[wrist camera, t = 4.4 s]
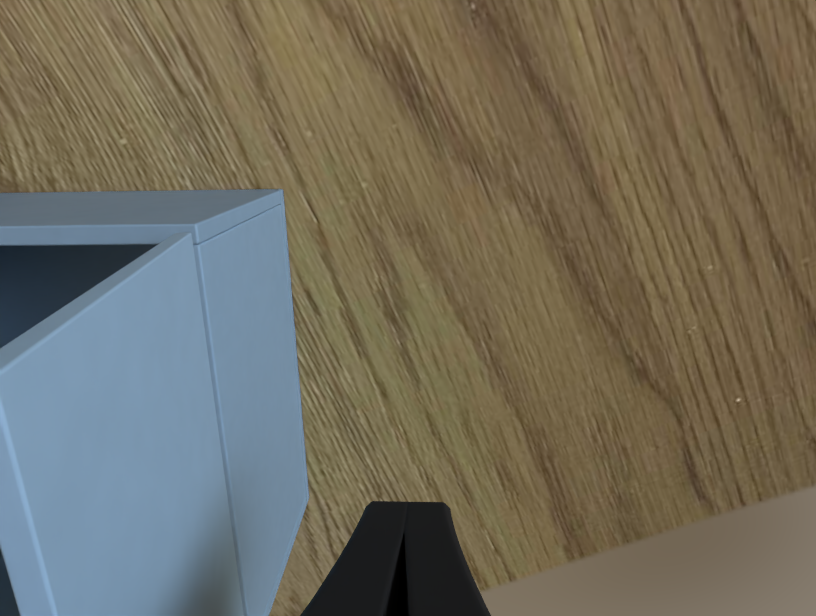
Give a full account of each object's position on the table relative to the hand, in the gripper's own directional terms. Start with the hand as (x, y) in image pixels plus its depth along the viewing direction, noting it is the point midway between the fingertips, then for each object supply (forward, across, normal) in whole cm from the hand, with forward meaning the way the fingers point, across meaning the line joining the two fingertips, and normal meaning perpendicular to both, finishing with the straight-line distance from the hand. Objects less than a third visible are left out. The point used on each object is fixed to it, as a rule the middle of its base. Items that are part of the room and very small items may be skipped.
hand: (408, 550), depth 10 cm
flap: (-1, +4, 0) cm, 4 cm away
